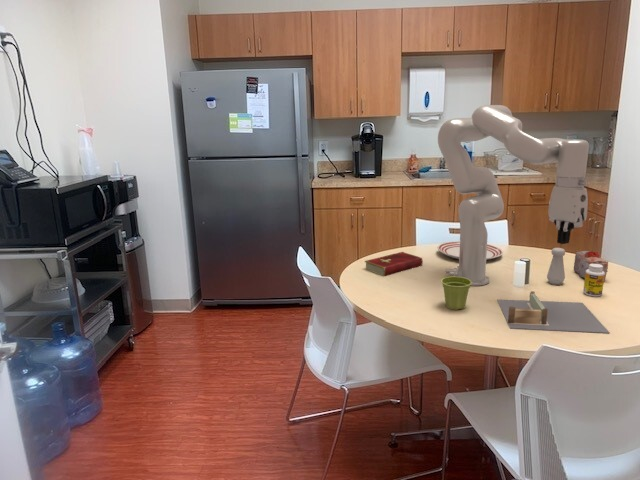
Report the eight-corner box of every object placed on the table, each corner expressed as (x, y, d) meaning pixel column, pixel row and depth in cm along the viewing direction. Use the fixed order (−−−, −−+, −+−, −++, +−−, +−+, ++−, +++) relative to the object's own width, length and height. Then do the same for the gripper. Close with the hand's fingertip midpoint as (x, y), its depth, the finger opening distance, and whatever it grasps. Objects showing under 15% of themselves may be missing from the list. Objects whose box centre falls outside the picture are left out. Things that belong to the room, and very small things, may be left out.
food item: (609, 283, 168) (613, 256, 166) (586, 283, 169) (589, 257, 166) (590, 271, 181) (593, 246, 179) (569, 271, 182) (571, 246, 179)
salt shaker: (566, 286, 166) (569, 251, 163) (548, 285, 167) (552, 250, 164) (561, 280, 172) (564, 246, 168) (544, 280, 173) (547, 246, 170)
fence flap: (545, 321, 138) (546, 308, 137) (540, 320, 138) (541, 308, 137) (533, 302, 151) (534, 291, 150) (529, 302, 151) (530, 291, 150)
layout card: (510, 328, 135) (510, 327, 135) (497, 300, 156) (497, 299, 156) (609, 333, 130) (609, 332, 130) (582, 303, 151) (582, 302, 151)
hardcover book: (422, 267, 194) (422, 257, 193) (384, 277, 183) (384, 267, 182) (402, 260, 204) (402, 251, 203) (364, 270, 192) (364, 260, 191)
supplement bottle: (585, 296, 157) (588, 267, 154) (581, 290, 162) (584, 262, 159) (603, 297, 155) (607, 268, 152) (599, 291, 160) (603, 263, 157)
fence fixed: (508, 324, 138) (509, 308, 137) (507, 321, 140) (508, 306, 138) (546, 325, 136) (548, 310, 135) (545, 323, 138) (546, 308, 136)
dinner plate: (498, 248, 217) (498, 241, 216) (507, 266, 191) (507, 258, 190) (436, 246, 223) (437, 239, 222) (437, 263, 197) (437, 256, 196)
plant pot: (466, 314, 146) (467, 288, 143) (436, 308, 150) (437, 283, 148) (473, 304, 153) (475, 279, 151) (445, 299, 158) (446, 274, 156)
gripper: (602, 184, 132) (594, 247, 137) (557, 178, 146) (551, 236, 150) (584, 187, 129) (576, 250, 134) (539, 180, 143) (533, 239, 147)
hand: (562, 242), depth 142 cm, fingers closed
